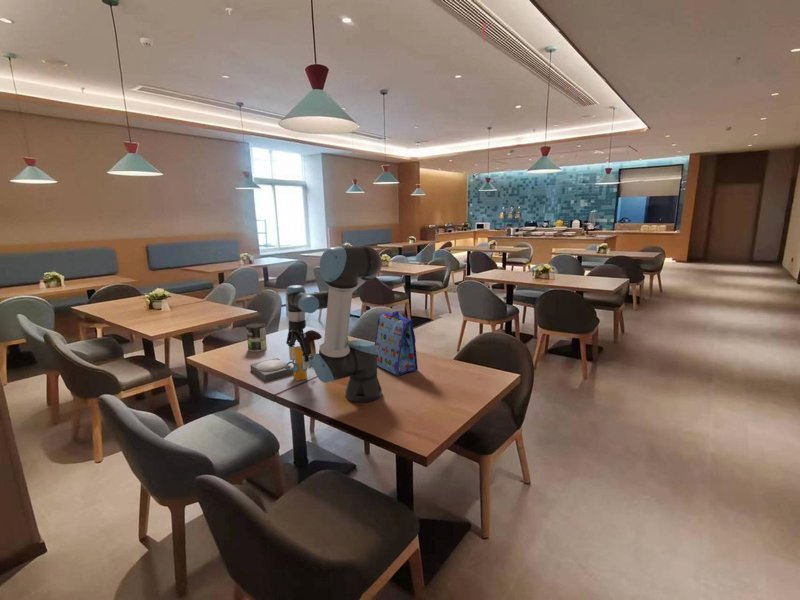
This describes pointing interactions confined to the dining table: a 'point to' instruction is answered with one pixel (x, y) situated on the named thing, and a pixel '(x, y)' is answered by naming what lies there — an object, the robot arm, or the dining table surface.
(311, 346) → the decorative mushroom
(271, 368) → the mount slab
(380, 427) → the dining table surface
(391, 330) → the lunch bag
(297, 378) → the yellow tube with rings
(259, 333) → the coffee can
